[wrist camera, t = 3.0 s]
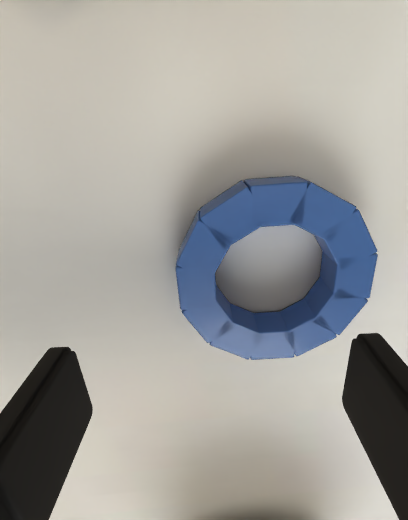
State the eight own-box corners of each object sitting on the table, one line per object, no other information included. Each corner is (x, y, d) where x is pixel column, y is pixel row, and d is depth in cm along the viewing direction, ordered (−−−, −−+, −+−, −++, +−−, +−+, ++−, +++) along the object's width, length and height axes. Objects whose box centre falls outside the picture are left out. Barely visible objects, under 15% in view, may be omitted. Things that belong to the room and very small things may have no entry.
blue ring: (141, 275, 17) (133, 292, 15) (270, 127, 14) (281, 126, 12) (264, 364, 20) (271, 387, 18) (395, 258, 17) (419, 274, 15)
